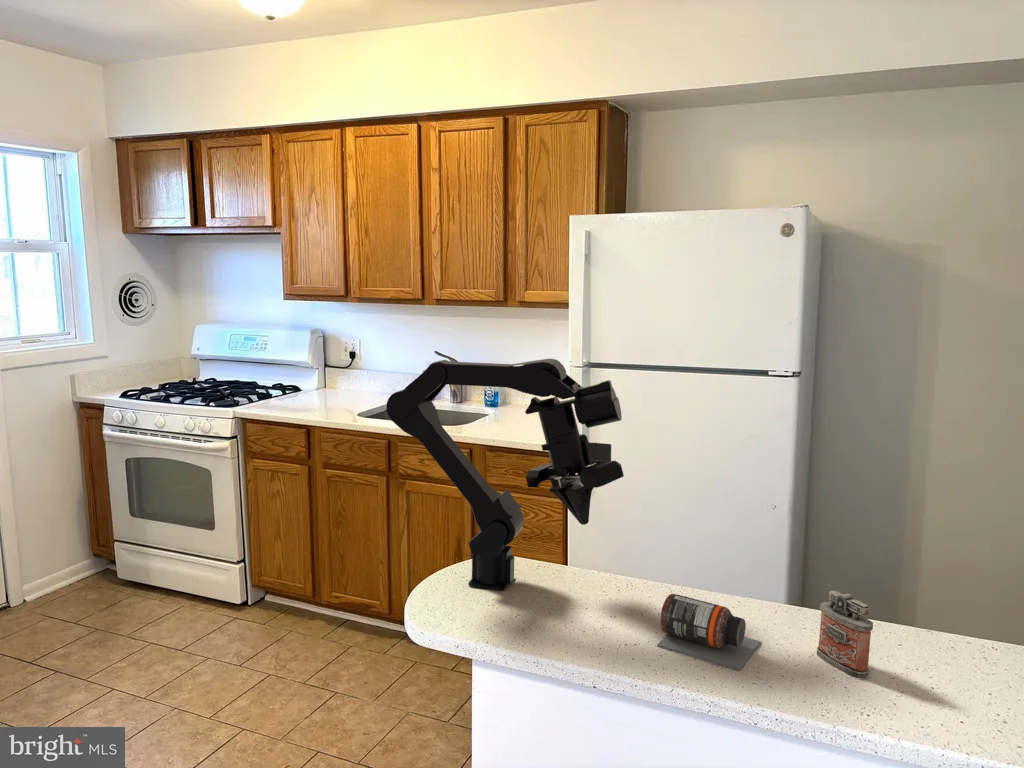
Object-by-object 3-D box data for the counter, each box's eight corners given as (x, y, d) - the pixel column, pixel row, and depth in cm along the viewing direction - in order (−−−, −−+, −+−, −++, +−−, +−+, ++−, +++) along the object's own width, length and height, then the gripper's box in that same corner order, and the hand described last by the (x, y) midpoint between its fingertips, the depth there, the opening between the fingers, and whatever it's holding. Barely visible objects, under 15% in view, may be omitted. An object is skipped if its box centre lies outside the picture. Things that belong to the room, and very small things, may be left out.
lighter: (810, 653, 108) (815, 586, 107) (828, 649, 110) (833, 583, 108) (856, 680, 101) (862, 609, 100) (874, 676, 102) (881, 605, 101)
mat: (657, 646, 109) (657, 644, 109) (682, 621, 118) (682, 619, 118) (739, 671, 103) (739, 669, 103) (760, 643, 111) (760, 641, 111)
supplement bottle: (676, 608, 117) (749, 628, 111) (662, 640, 113) (737, 663, 107) (670, 584, 113) (746, 603, 107) (656, 616, 110) (733, 638, 103)
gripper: (634, 417, 122) (658, 509, 123) (561, 424, 137) (582, 506, 138) (585, 436, 116) (610, 533, 117) (514, 441, 131) (536, 527, 132)
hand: (584, 523), depth 126 cm, fingers closed
